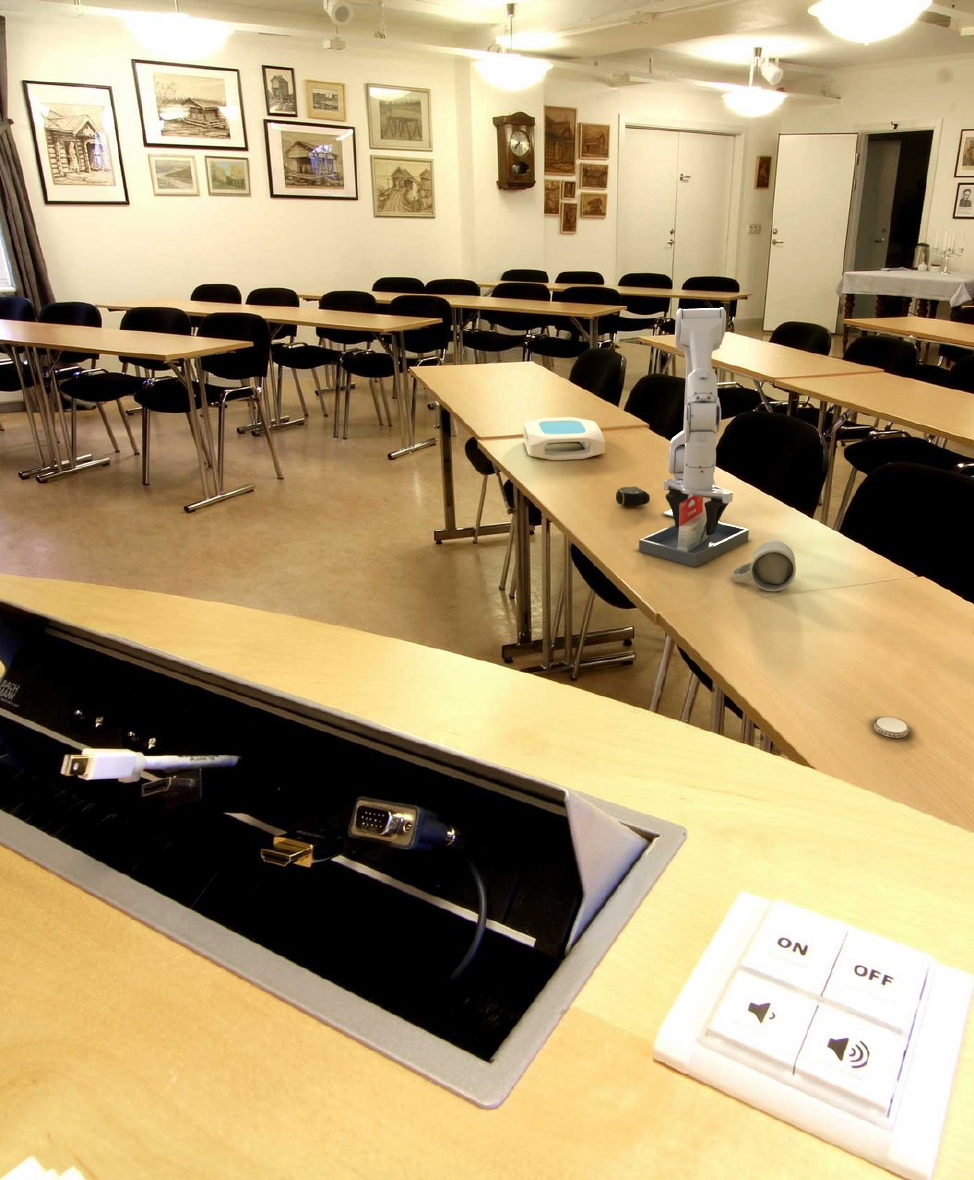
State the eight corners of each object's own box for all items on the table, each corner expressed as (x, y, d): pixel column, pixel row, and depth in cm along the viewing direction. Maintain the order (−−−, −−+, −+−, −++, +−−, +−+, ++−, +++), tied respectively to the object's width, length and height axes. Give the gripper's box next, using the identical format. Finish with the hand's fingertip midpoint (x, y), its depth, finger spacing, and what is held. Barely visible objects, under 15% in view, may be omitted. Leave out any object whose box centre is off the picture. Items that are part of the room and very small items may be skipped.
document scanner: (590, 435, 261) (590, 415, 258) (605, 458, 235) (605, 436, 233) (523, 438, 260) (522, 418, 258) (530, 461, 235) (530, 439, 232)
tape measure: (650, 507, 194) (651, 492, 192) (623, 511, 192) (624, 495, 190) (637, 499, 200) (637, 484, 198) (610, 502, 198) (611, 487, 196)
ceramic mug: (792, 576, 154) (796, 536, 151) (793, 593, 147) (797, 552, 144) (733, 572, 157) (735, 533, 154) (730, 589, 150) (733, 549, 147)
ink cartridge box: (711, 536, 173) (714, 491, 169) (687, 553, 165) (690, 505, 161) (699, 534, 175) (702, 489, 171) (676, 550, 167) (678, 503, 163)
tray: (692, 527, 181) (693, 515, 180) (747, 540, 172) (749, 529, 171) (638, 551, 169) (639, 539, 168) (694, 567, 160) (695, 555, 159)
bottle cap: (874, 734, 106) (875, 730, 106) (873, 718, 110) (874, 714, 110) (909, 739, 105) (910, 735, 105) (906, 723, 108) (907, 719, 108)
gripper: (656, 462, 166) (653, 527, 171) (720, 475, 156) (715, 543, 161) (676, 455, 170) (673, 518, 175) (740, 467, 160) (735, 534, 166)
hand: (694, 530), depth 169 cm, fingers open, 7 cm apart
